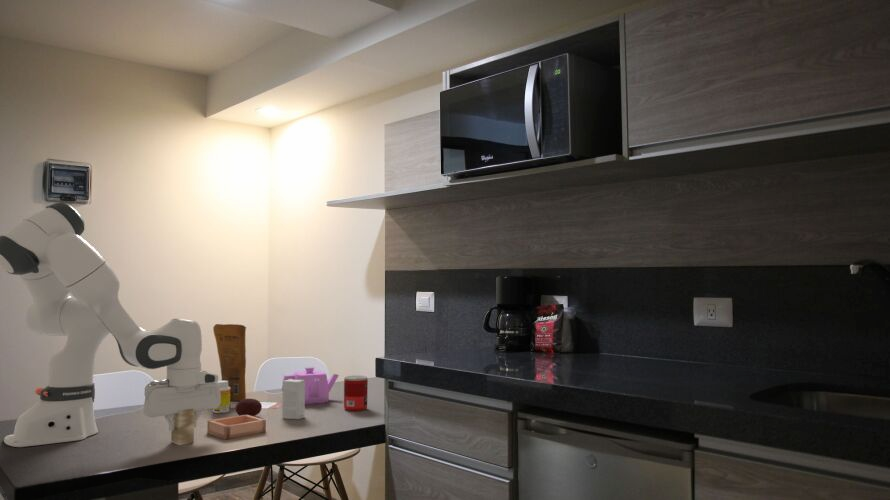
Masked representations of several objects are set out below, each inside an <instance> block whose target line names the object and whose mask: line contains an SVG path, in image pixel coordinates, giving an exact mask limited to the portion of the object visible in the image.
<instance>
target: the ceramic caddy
mask: <svg viewBox="0 0 890 500" xmlns="http://www.w3.org/2000/svg"><path fill="white" fill-rule="evenodd" d="M266 428H267V420H266V419H264V418H260V417H256V416H250V415H240V416H239V415H236V416H235V415H234V416H229V417H221V418H217V419H216V418H215V419H210V420H207V431H206V432H207V434H209V435H212V436H215V437H217V438H221V439H224V440H232V439H237V438H243V437H248V436H253V435H258V434H264V433H267V429H266Z"/></svg>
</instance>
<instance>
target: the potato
mask: <svg viewBox="0 0 890 500" xmlns="http://www.w3.org/2000/svg"><path fill="white" fill-rule="evenodd" d="M262 409H263V407H262V403H261V401H260V400H257V399H256V398H246V399H243V400H241V401H238V402H237V403H236V406H235V413H236V414H237V416H240V415H250V416H254V417H256V416H257V415H259V414H260V413H261V411H262Z"/></svg>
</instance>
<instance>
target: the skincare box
mask: <svg viewBox="0 0 890 500" xmlns="http://www.w3.org/2000/svg"><path fill="white" fill-rule="evenodd" d="M282 384H283V391H282V413H281V415H282V417H281V418H282V419H285V420H286V419H289V420H300V419H302V418H305V416H306V415H305V414H306V413H305V412H306V411H305V409H306V406H305V405H306V404H305V380H292V379H289V380H285V381H283V380H282Z"/></svg>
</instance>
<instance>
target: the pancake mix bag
mask: <svg viewBox="0 0 890 500" xmlns="http://www.w3.org/2000/svg"><path fill="white" fill-rule="evenodd" d="M212 328H213V334H214V339H215V343H216V347H217V348H216V349H217V355H218V359H219V367H220V375H221V381H228V386H229V387H230V401H233V402H240V401H241V400H243V399H247V395H246V393H247V392H246V369H247V368H246V367H247V366H246V364H247V360H246V359H247V357H246V351H247V349H246V330H247V327H246V326H245V325H243V324H236V323H235V324H233V323H232V324H231V323H230V324H221V323H216V324H215V325H213V327H212Z"/></svg>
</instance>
